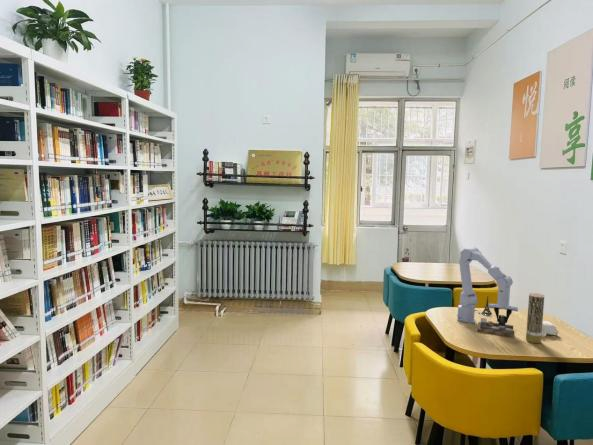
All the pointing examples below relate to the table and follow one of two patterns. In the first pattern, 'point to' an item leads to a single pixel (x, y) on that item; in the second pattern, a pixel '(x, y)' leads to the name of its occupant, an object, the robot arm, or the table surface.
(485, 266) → the robot arm
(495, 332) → the vise base
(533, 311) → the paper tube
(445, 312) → the table surface
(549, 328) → the white curved shape
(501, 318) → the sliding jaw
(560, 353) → the table surface
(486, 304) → the eiffel tower figurine
